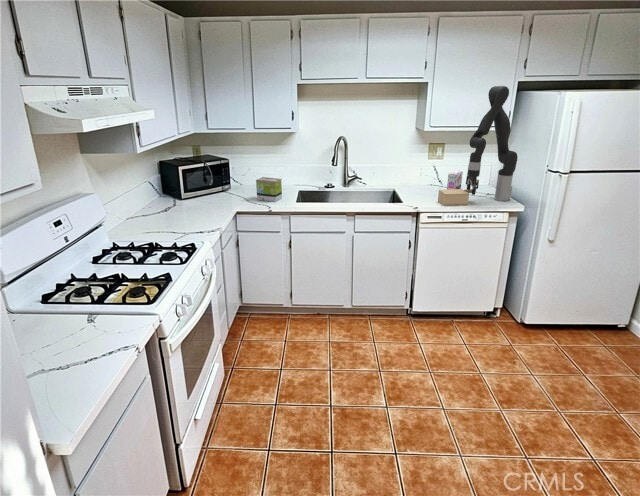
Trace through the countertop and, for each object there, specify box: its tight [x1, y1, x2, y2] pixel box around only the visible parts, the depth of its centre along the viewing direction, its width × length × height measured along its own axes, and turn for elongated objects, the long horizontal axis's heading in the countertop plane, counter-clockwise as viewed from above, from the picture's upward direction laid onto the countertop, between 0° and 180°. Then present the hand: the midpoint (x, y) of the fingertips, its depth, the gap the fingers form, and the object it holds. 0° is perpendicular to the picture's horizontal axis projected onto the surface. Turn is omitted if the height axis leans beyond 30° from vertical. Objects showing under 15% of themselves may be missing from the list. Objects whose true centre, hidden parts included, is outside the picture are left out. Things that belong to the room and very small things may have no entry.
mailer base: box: [437, 191, 470, 207], centre depth 274 cm, size 16×12×7 cm
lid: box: [438, 188, 472, 196], centre depth 273 cm, size 22×12×2 cm, turn 94°
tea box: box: [255, 176, 283, 203], centre depth 285 cm, size 15×10×15 cm, turn 68°
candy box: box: [446, 170, 464, 190], centre depth 293 cm, size 14×6×16 cm, turn 143°
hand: (470, 193), depth 274 cm, fingers open, 8 cm apart
